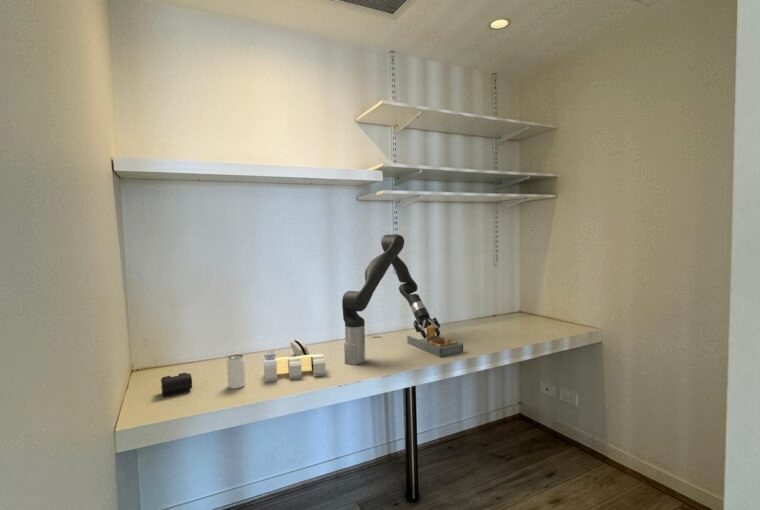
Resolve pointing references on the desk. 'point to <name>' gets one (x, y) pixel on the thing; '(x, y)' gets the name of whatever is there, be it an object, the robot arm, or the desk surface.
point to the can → (236, 371)
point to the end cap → (176, 384)
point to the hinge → (299, 348)
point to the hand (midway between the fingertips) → (432, 336)
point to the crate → (437, 342)
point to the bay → (433, 349)
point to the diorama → (293, 366)
